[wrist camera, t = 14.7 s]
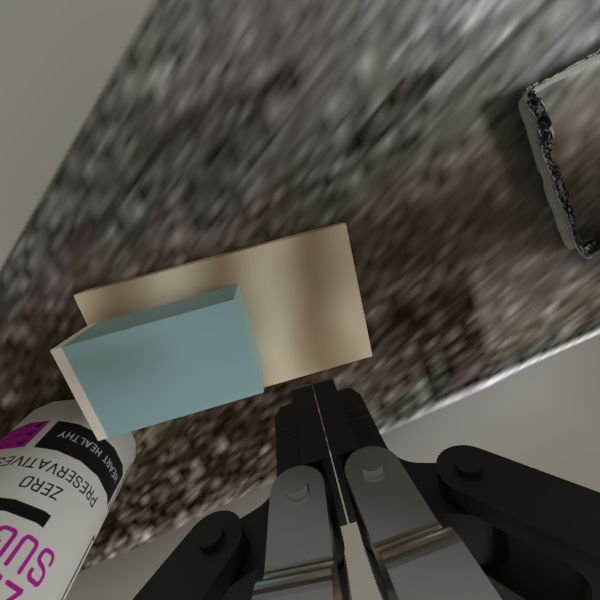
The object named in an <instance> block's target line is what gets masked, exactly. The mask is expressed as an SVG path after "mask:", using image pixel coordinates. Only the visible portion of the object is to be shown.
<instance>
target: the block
mask: <svg viewBox="0 0 600 600" xmlns="http://www.w3.org/2000/svg"><path fill="white" fill-rule="evenodd" d="M50 352H51V354H52V355H53V357H54V359H55V361H56V363H57V365H58V367H59V369H60V370H61V372H62V374H63V376H64V378H65V380H66V382H67V384H68V385H69V387H70V389H71V391H72V393H73V395H74V397H75V399H76V401H77V402H78V404H79V406H80V408H81V410H82V412H83V414H84V416H85V417H86V419H87V421H88V423H89V425H90V427H91V429H92V431H93V432H94V434H95V436H96V438H97V440H98V441H100V440H103V439H107V438H110V437H114V436H117V435H120V434H124V433H127V432H131V431H134V430H137V429H141V428H144V427H148V426H151V425H154V424H158V423H161V422H165V421H168V420H171V419H175V418H178V417H182V416H185V415H189V414H192V413H195V412H199V411H202V410H206V409H209V408H212V407H216V406H219V405H223V404H226V403H229V402H233V401H236V400H240V399H243V398H246V397H250V396H253V395H257V394H260V393H263V392H264V380H263V361H262V358H261V355H260V351H259V348H258V345H257V342H256V339H255V336H254V333H253V329H252V326H251V323H250V320H249V317H248V314H247V311H246V308H245V304H244V301H243V298H242V295H241V292H240V289H239V286H238V284H235V285H232V286H228V287H225V288H221V289H217V290H214V291H210V292H206V293H203V294H199V295H195V296H192V297H188V298H184V299H181V300H177V301H174V302H170V303H166V304H163V305H159V306H155V307H152V308H148V309H144V310H141V311H137V312H133V313H130V314H126V315H123V316H119V317H115V318H112V319H108V320H104V321H101V322H97V323H93V324H90V325H87V326H86V327H84V328H83V329H81V330H80V331H78V332H77V333H75V334H74V335H72V336H71V337H69V338H68V339H66V340H65V341H63V342H62V343H60V344H59V345H57V346H56V347H54V348H53V349H51V350H50Z"/></svg>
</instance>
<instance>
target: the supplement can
mask: <svg viewBox="0 0 600 600" xmlns="http://www.w3.org/2000/svg"><path fill="white" fill-rule="evenodd" d="M134 459H135V439H134V437H133V435H132V433H131V432H127V433H124V434H120V435H117V436H114V437H110V438H107V439H103V440H100V441H98V440H97V438H96V436H95V434H94V432H93V431H92V429H91V427H90V425H89V423H88V421H87V419H86V417H85V416H84V414H83V412H82V410H81V408H80V406H79V404H78V402H77V401H76V399H73V400H63V401H53V402H51V403H49V404H46V405H44V406H42V407H40V408H37V409H35V410H34V411H33V412H31V413H30V414H29V415H28V416H27V417H26V418H25V419H23V420H22V421H21V422H20V423H19V424H18V425H17V426H16V427H14V428H13V429H12V430H11V431H10V432H9V433H8V434H7V435H5V436H4V437H3V438H2V439H1V440H0V600H65V598H66V596H67V594H68V592H69V590H70V588H71V586H72V584H73V582H74V580H75V578H76V576H77V574H78V572H79V570H80V568H81V566H82V564H83V562H84V560H85V558H86V556H87V554H88V552H89V550H90V548H91V546H92V544H93V542H94V540H95V538H96V536H97V534H98V532H99V530H100V528H101V526H102V524H103V522H104V520H105V518H106V516H107V514H108V512H109V510H110V508H111V506H112V504H113V502H114V500H115V498H116V496H117V494H118V492H119V490H120V488H121V486H122V484H123V482H124V480H125V478H126V476H127V474H128V472H129V470H130V468H131V466H132V464H133V461H134Z"/></svg>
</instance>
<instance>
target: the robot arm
mask: <svg viewBox="0 0 600 600" xmlns="http://www.w3.org/2000/svg"><path fill="white" fill-rule="evenodd" d="M313 386H314V390H315V394H316V398H317V401H318V405H319V409H320V413H321V417H322V420H323V424H324V428H325V432H326V436H327V439H328V443H329V447H330V451H331V455H332V458H333V462H334V466H335V469H336V473H337V477H338V481H339V484H340V488H341V492H342V496H343V500H344V503H345V508H346V511H347V515H348V519H349V523H353V522H356V521H357V524H358V527H359V531H360V534H361V538H362V541H363V546H364V550H365V553H366V556H367V559H368V562H369V564H370V567H371V570H372V573H373V575H374V578H375V581H376V584H377V586H378V589H379V592H380V594H381V597H382V600H600V493H599V492H597V491H594V490H591V489H589V488H586V487H583V486H580V485H577V484H575V483H572V482H569V481H566V480H564V479H561V478H559V477H556V476H553V475H550V474H548V473H545V472H542V471H539V470H537V469H534V468H531V467H529V466H526V465H523V464H520V463H518V462H514V461H512V460H510V459H507V458H504V457H502V456H499V455H496V454H493V453H491V452H488V451H485V450H482V449H480V448H476V447H473V446H466V445H461V446H453V447H450V448H447V449H445V450H444V451H443V452H441V454H440V455H439V456H438V458H437V462H436V463H413V462H408V461H405V460H402V459H400V458H398V457H396V455H395V454H394V453H392V452H391V451H390V450H388V448H387V447H386V445H385V443H384V441H383V439H382V437H381V435H380V433H379V431H378V429H377V427H376V425H375V423H374V421H373V419H372V417H371V415H370V413H369V411H368V409H367V407H366V406H365V403H364V401H363V399H362V397H361V395H360V394H359V393H357V392H356V391H354V390H353V389H351V388H348V389H344V390H340V391H337V389H336V387H335V384H334V382H333V379H332V378H330V379H326V380H322V381H319V382H315V383H313ZM292 397H293V404H289V405H286V406H282V407H280V409H279V411H278V413H277V415H276V417H275V430H276V431H275V433H276V458H277V479H276V480H275V481H274V483H273V485H272V488H271V491H270V497H269V498H268V499H267V501H266V502H265V503H264V504H262V505H261V506H260V507H258V508H257V509H256V510H254V511H252V512H251V513H249V514H247V515H246V516H244V517H242V518H241V519H239V517H238V516H237V515H236V514H235V513H233V512H231V511H218V512H214V513H212V514H210V515H208V516H206V517H205V518H203V519H202V520H200V521H199V522H198V523H197V524H196V525H195V526H194V527H193V528H192V530H191V531H190V532H189V533H188V534H187V535H186V537H185V538H184V539H183V540H182V541H181V543H180V544H179V545H178V546H177V548H176V549H175V550H174V551H173V552H172V553H171V555H170V556H169V557H168V558H167V559H166V560H165V562H164V563H163V564H162V565H161V566H160V568H159V569H158V570H157V571H156V573H155V574H154V575H153V576H152V577H151V578H150V580H149V581H148V582H147V583H146V584H145V585H144V587H143V588H142V589H141V590H140V591H139V593H138V594H137V595H136V596H135V597H134V599H133V600H352V596H351V591H350V583H349V577H348V570H347V564H346V558H345V554H344V548H345V547H344V541H343V536H342V532H341V528H340V526H343V525H347V521H346V517H345V513H344V509H343V505H342V501H341V498H340V494H339V490H338V486H337V482H336V478H335V474H334V471H333V466H332V463H331V458H330V454H329V451H328V447H327V443H326V439H325V435H324V431H323V427H322V423H321V420H320V416H319V412H318V408H317V405H316V401H315V397H314V393H313V389H312V386H311V384H308V385H304V386H300V387H297V388H293V389H292Z"/></svg>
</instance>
